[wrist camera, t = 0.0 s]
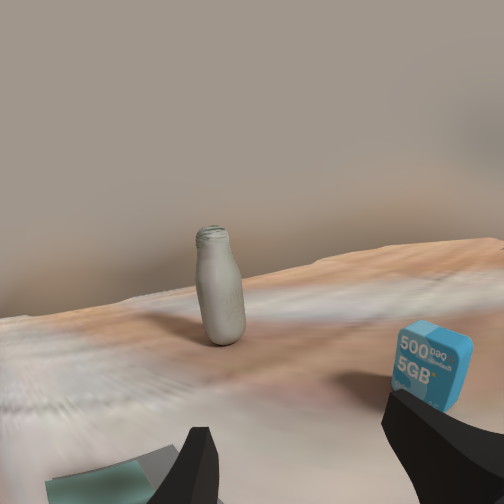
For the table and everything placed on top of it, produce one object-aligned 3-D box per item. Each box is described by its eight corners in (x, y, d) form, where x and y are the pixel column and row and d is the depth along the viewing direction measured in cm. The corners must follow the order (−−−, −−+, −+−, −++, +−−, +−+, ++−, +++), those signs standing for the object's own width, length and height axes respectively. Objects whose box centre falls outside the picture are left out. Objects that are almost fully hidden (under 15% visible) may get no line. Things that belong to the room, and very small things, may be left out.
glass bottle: (225, 330, 71) (210, 224, 67) (255, 337, 64) (243, 222, 60) (198, 344, 63) (179, 229, 59) (229, 355, 57) (211, 226, 53)
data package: (389, 388, 37) (398, 325, 35) (406, 377, 38) (415, 317, 36) (439, 420, 25) (461, 352, 23) (455, 405, 27) (476, 338, 25)
